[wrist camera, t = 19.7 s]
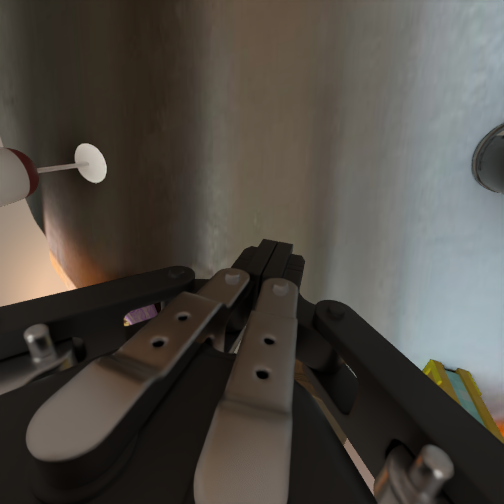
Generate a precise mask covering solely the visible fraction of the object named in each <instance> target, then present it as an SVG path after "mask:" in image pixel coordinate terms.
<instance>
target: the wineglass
mask: <svg viewBox="0 0 504 504" xmlns="http://www.w3.org/2000/svg"><path fill="white" fill-rule="evenodd" d="M75 162H76V163H75V164H67V165H59V166H51V167H43V168H36V166H35V165H34V163H33V162H32V160H31V159H30V158H29V157H27V156H26V155H25V154H23V153H22V152H19V151H17V150H14V149H10V148H2V147H0V207H2V206H5V205H8V204H11V203H14V202H17V201H19V200H21V199H24V198H26V197H28V196H29V195H31V194H32V193H33V192H34V191H35V190H36V188H37V186H38V182H39V175H38V173H43V172H50V171H57V170H64V169H71V168H78V170H79V172H80V173H81V174H82V176H83V177H84V178H86V179H87V180H88V181H91V182H93V183H98V182H101V181H102V180H103V179H104V178H105V176H106V172H107V166H106V162H105V159H104V157H103V155H102V154H101V152H100V151H99V150H98V149H97V148H96V147H94V146H93V145H90V144H87V143H86V144H81V145H79V146H78V148H77V149H76V152H75Z"/></svg>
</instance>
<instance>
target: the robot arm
mask: <svg viewBox="0 0 504 504" xmlns="http://www.w3.org/2000/svg"><path fill="white" fill-rule="evenodd" d="M472 171H473V175H474V177H475V179H476V180H477V182H478V183H479V184H480V185H481V186H483V187H484V188H486V189H488V190H491V191H494V192H497V193H501V194H504V123H503V124H501V125H499V126H498V127H496V128H495V129H493V130H492V131H491V132H490V133H489V134H488V135H487V136H486V137H485V138H484V139H483V140H482V141H481V142H480V144H479V145H478V147H477V149H476V151H475V153H474V156H473V160H472ZM292 251H293V244H289V243H283V242H278V241H272V240H267V239H263V240H262V242H261V243H260V245H259V246H258V247H254V246H251V247H249V248H246V249H244V251H243V252H242V253H241V255H240V256H239V257H238V259H237V260H236V261H235V263H234V264H233V265H232V267H231V268H226V269H222V270H220V271H218V272H217V273H216V274H215V275H214V276H213V277H212V278H211V279H195V272H194V271H193V270H192V269H190V268H188V267H184V266H173V267H168V268H164V269H159V270H155V271H151V272H147V273H142V274H138V275H134V276H130V277H125V278H121V279H117V280H113V281H108V282H104V283H100V284H96V285H91V286H87V287H83V288H79V289H74V290H70V291H66V292H62V293H57V294H53V295H49V296H45V297H41V298H36V299H32V300H28V301H23V302H19V303H15V304H11V305H7V306H2V307H0V504H504V444H503V443H502V442H501V441H500V440H499V439H498V438H497V437H495V436H494V435H493V434H492V433H491V432H490V431H489V430H488V429H486V428H485V427H484V426H483V425H482V424H481V423H480V422H479V421H477V420H476V419H475V418H474V417H473V416H472V415H471V414H470V413H468V412H467V411H466V410H465V409H464V408H463V407H462V406H461V405H459V404H458V403H457V402H456V401H455V400H454V399H453V398H452V397H450V396H449V395H448V394H447V393H446V392H445V391H444V390H443V389H441V388H440V387H439V386H438V385H437V384H436V383H435V382H434V381H432V380H431V379H430V378H429V377H428V376H427V375H426V374H425V373H423V372H422V371H421V370H420V369H419V368H418V367H417V366H416V365H414V364H413V363H412V362H411V361H410V360H409V359H408V358H407V357H405V356H404V355H403V354H402V353H401V352H400V351H399V350H398V349H396V348H395V347H394V346H393V345H392V344H391V343H390V342H389V341H387V340H386V339H385V338H384V337H383V336H382V335H381V334H379V333H378V332H377V331H376V330H375V329H374V328H373V327H372V326H370V325H369V324H368V323H367V322H366V321H365V320H364V319H363V318H361V317H360V316H359V315H358V314H357V313H356V312H355V311H354V310H352V309H351V308H350V307H349V306H347V305H345V304H343V303H341V302H338V301H334V300H323V301H320V302H318V303H317V304H316V305H314V304H312V303H310V302H308V301H307V300H305V299H304V298H303V297H302V296H301V295H300V293H299V290H300V285H301V280H302V275H303V270H304V264H305V260H304V259H303V257H302V256H300V255H295V254H292ZM159 302H161V311H160V312H159V313H158V314H157V315H156V316H155V317H153V318H150V319H147V320H144V321H141V322H138V323H135V324H132V325H129V326H124V318H125V316H126V315H127V314H128V313H129V312H131V311H133V310H136V309H139V308H143V307H146V306H149V305H152V304H156V303H159ZM246 324H247V325H246ZM245 326H246V328H245ZM241 339H242V340H241ZM240 340H241V343H240V346H239V349H238V352H237V354H236V353H234V351H235V349H236V347H237V346H238V344H239V342H240ZM295 359H297V360H299V361H300V362H302V369H303V372H304V374H305V375H306V377H307V378H308V380H309V381H310V383H311V384H312V386H313V387H314V389H315V390H316V392H317V393H318V395H319V396H320V398H321V399H322V401H323V402H324V404H325V405H326V407H327V408H328V410H329V411H330V413H331V414H332V416H333V417H334V419H335V420H336V422H337V423H338V425H339V426H340V428H341V429H342V431H343V432H344V434H345V435H346V437H347V438H348V440H349V441H350V443H351V444H352V446H353V447H354V449H355V450H356V451H357V453H358V455H359V456H360V458H361V459H362V461H363V462H364V464H365V465H366V467H367V468H368V470H369V471H370V473H371V474H372V476H373V477H374V479H375V481H374V490H373V491H374V496H373V494H372V493H371V491H370V489H369V488H368V486H367V484H366V483H365V481H364V479H363V478H362V476H361V474H360V473H359V471H358V469H357V468H356V466H355V464H354V463H353V461H352V460H351V458H350V456H349V454H348V453H347V451H346V449H345V448H344V446H343V444H342V443H341V441H340V439H339V438H338V436H337V435H336V433H335V431H334V430H333V428H332V426H331V425H330V423H329V421H328V420H327V418H326V416H325V415H324V413H323V411H322V410H321V408H320V406H319V405H318V403H317V402H316V400H315V399H314V398H313V396H312V395H311V394H310V393H309V392H308V391H307V390H306V389H305V388H304V387H303V386H302V385H301V384H300V383H299V382H297V381H296V380H294V371H295ZM343 360H344V361H345V362H346V364H347V365H348V366H349V367H350V368H351V369H352V371H353V372H354V373H355V375H356V377H357V378H356V377H355V375H354V374H353V373H352V372H351V371H350V370H349V368H348V367H347V366H346V365H345V364H344V363H343Z"/></svg>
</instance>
